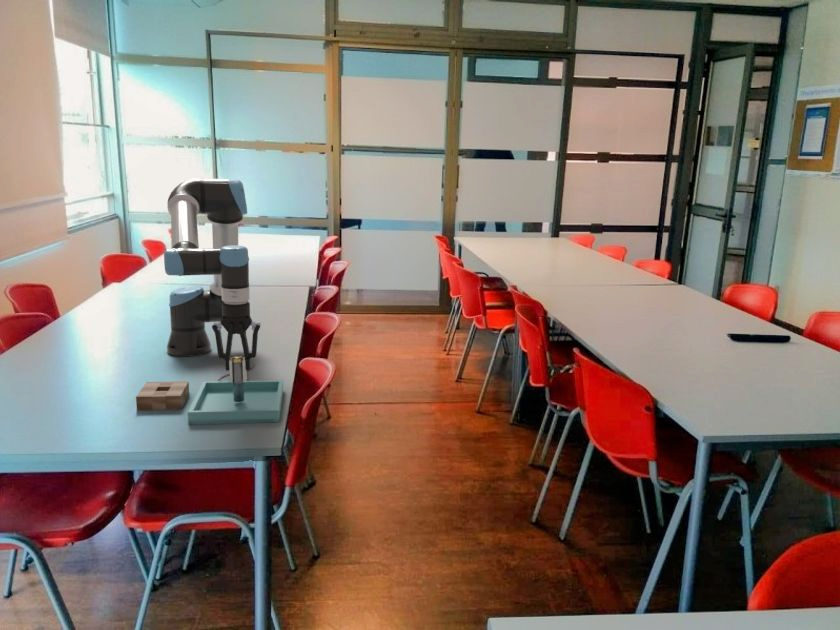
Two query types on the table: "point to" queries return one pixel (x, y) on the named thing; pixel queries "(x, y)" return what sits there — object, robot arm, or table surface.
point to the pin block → (162, 395)
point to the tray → (237, 403)
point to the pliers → (246, 370)
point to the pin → (238, 379)
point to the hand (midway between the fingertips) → (238, 380)
